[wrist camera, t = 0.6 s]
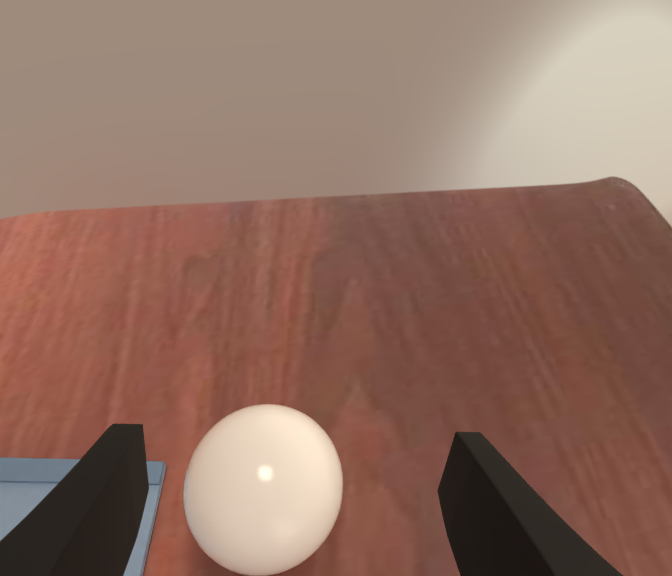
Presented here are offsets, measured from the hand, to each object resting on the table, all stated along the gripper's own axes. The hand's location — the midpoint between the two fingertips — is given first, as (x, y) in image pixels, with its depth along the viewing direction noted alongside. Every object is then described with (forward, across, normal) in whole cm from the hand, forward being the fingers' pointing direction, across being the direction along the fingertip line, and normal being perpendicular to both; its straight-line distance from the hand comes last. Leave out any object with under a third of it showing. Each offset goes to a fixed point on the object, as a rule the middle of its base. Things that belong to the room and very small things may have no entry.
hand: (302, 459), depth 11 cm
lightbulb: (+9, 0, +15) cm, 17 cm away
